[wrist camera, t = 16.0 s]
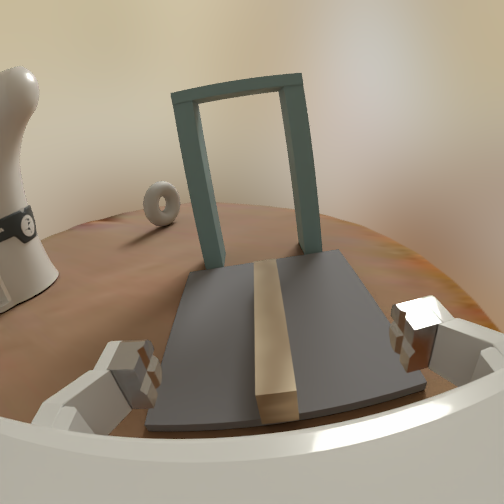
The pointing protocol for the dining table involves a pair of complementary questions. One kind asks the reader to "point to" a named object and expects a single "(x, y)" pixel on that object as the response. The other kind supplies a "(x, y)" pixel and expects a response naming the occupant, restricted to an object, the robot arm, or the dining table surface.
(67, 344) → the dining table surface
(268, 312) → the stick
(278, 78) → the teal arch
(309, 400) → the mat
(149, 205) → the donut
